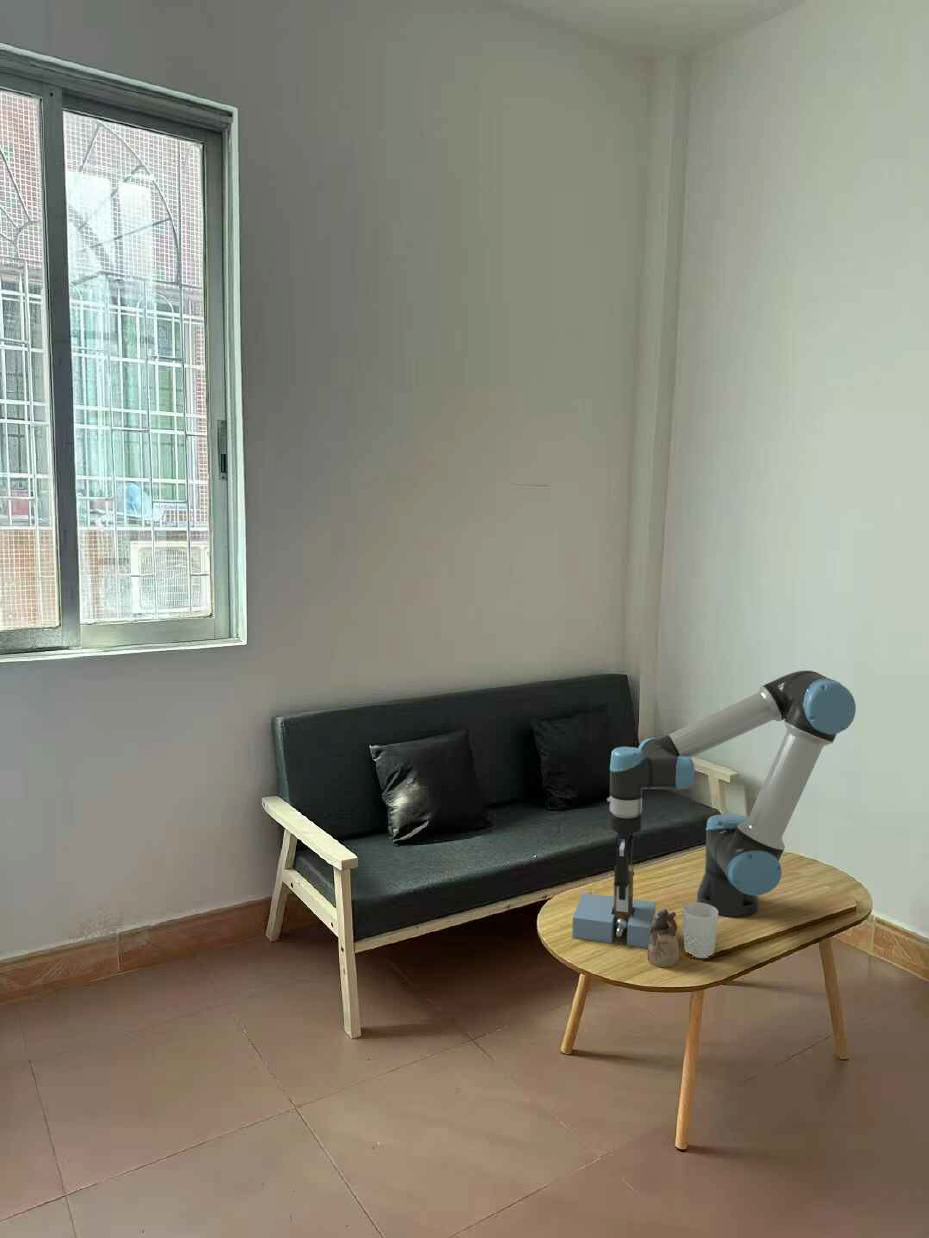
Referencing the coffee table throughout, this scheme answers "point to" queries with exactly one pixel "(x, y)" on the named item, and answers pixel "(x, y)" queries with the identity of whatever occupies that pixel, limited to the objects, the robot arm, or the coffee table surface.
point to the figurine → (663, 940)
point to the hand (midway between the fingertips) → (623, 906)
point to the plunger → (620, 926)
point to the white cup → (699, 929)
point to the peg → (630, 897)
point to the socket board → (611, 920)
